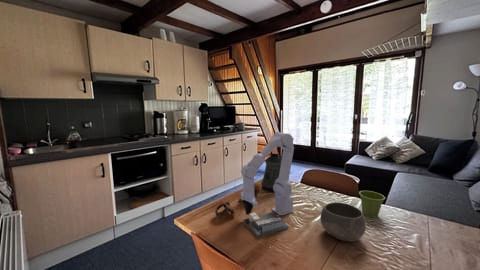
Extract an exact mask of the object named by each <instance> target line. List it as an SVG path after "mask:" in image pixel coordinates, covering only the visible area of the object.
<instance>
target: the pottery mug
mask: <svg viewBox="0 0 480 270" xmlns="http://www.w3.org/2000/svg"><path fill="white" fill-rule="evenodd" d="M222 207H223V208H224V209H223V210H221V211H219V210H220V208H222ZM218 211H219V212H218ZM214 213H215V217H217V218H222V217H223V218H226V217H225V214H228V215H229V214H230V215H232V217H233V219H235V218H236V214H235V211H234V209H233V207H232V206H231V204H230V202H229V201H225V202H222V203H220V204H218V205H217V207H216V208H215V211H214Z"/></svg>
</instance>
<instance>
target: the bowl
mask: <svg viewBox="0 0 480 270" xmlns="http://www.w3.org/2000/svg"><path fill="white" fill-rule="evenodd" d="M320 223H321V225H322V227H323V229H324V231H326V232H327V233H328V234H329V235H330V236H332V237H334V238H336V239H338V240H340V241H343V242H354V241H357V240H359V239H361V238H363V236H364V234H365V232H366V228H367V227H366V225H367V224H366V223H367V222H366V218H365V215H364V214H363V213H362V209H359V208H358V207H356V206H354V205H352V204H348V203H345V202H329V203H327V204H325V205H324V206H323V207H322V210H321V212H320Z"/></svg>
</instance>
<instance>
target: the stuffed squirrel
mask: <svg viewBox="0 0 480 270" xmlns="http://www.w3.org/2000/svg"><path fill="white" fill-rule="evenodd" d="M261 191H262V185H260V184H259V183H256V182H255V181H254V197H255V199H256V200H257V197H258V194H259V193H260V192H261ZM241 192H243V190H242V191H241ZM237 200H238V202H242V199H241V197H239V198H238V199H237Z"/></svg>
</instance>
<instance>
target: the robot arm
mask: <svg viewBox="0 0 480 270" xmlns="http://www.w3.org/2000/svg"><path fill="white" fill-rule="evenodd" d="M275 148H281V149H282V155H281V156H282V161H281V167H280V173H279V178H278V179H276V181H275V184H274V186H273V190H274V192H273V193H274V196H275V197H274V198H275V201H274V207H273V208H271V211H273V212H275V213H276V215H279V217H280V216H284V215H287V214H291V213H294V212H295V210H294V198H293V196H292V192H293V191H292V183H291V181H290V180H289V179H290V175H291V169H292V163H293V162H292V161H293V158H294V157H293V156H294V150H295V145H294V137H293V136H292V134H290V133H285V132H280V131H276V132H274V134H273V135H271V138H270V140H269V142H267V144H266V145H265V146H264V148H263V149H262V150H261V152H260V153H256V154H254V155H253V156H252V157H253V158H251V160H250V161H249V162H247V164H245V165H242V166H243V167H242V168H241V170H240V172H241V175H242V191H243V192H242V191H241V192H240V196H241V197H240V198H241V199H242V201H241V203H242V204H243V207H244V211H245V214H246V215H247V216H248V215H249V214H250V213H252V211H253V207H255V208H256V207H258V201H257V198H256V199H255V197H254V182H255V177H256V176H257V173H258V171H259V169H260V168H261V167H262V166H263V165H264V163H266V162H265V160H266V157H268V156H269V154H270V153H271V152H273V150H275Z"/></svg>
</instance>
